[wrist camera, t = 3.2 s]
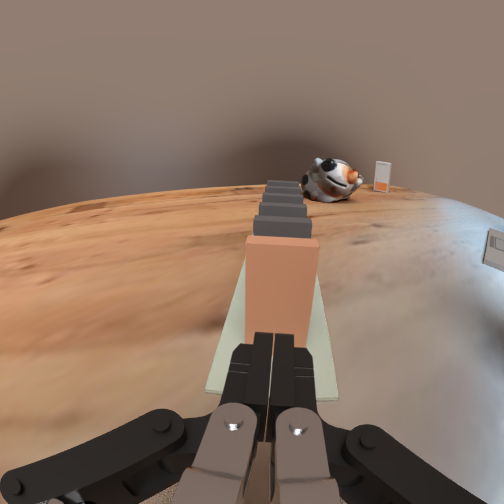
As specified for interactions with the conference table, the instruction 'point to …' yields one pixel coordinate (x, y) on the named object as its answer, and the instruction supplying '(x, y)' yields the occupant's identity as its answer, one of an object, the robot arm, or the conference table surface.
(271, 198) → the domino
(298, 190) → the domino
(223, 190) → the conference table surface
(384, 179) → the skincare box
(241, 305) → the strip
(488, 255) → the laptop
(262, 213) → the domino
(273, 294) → the domino
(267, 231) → the domino
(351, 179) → the lucky cat figurine
